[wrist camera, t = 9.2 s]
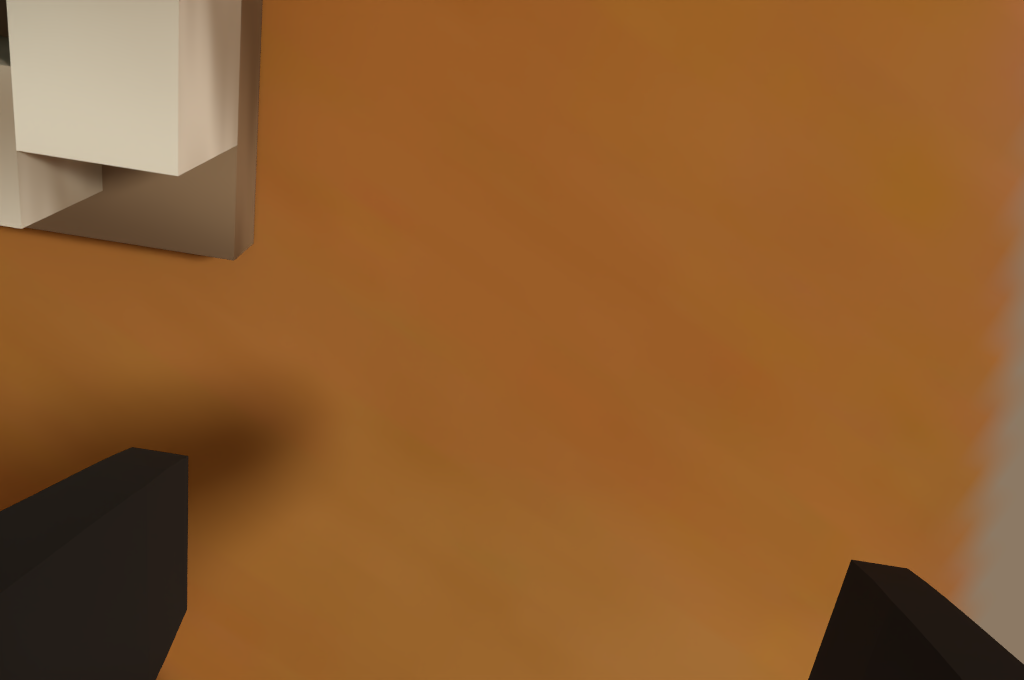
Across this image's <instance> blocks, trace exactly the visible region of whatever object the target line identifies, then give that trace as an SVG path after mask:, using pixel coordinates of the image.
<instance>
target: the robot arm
mask: <svg viewBox="0 0 1024 680" xmlns="http://www.w3.org/2000/svg"><path fill="white" fill-rule="evenodd" d="M187 549H188V456H185V455H178V454H172V453H166V452H159V451H153V450H147V449H140V448H134V447H132V448H129V449H127V450H125V451H122V452H120V453H117V454H115V455H113V456H111V457H109V458H106V459H104V460H102V461H100V462H98V463H96V464H94V465H92V466H90V467H88V468H86V469H84V470H82V471H80V472H78V473H76V474H74V475H72V476H70V477H68V478H66V479H64V480H62V481H60V482H58V483H56V484H54V485H52V486H50V487H48V488H46V489H44V490H42V491H40V492H38V493H36V494H34V495H32V496H30V497H28V498H26V499H24V500H22V501H20V502H18V503H16V504H14V505H12V506H10V507H8V508H6V509H4V510H2V511H0V680H156V678H157V676H158V673H159V671H160V669H161V667H162V665H163V663H164V661H165V658H166V656H167V654H168V652H169V649H170V647H171V645H172V642H173V640H174V638H175V636H176V633H177V631H178V629H179V626H180V624H181V622H182V619H183V617H184V615H185V613H186V610H187ZM808 680H1024V664H1022V663H1021V662H1020V661H1019V660H1018V659H1017V658H1015V657H1014V656H1013V655H1012V654H1011V653H1010V652H1008V651H1007V650H1006V649H1005V648H1004V647H1003V646H1002V645H1000V644H999V643H998V642H997V641H996V640H995V639H993V638H992V637H991V636H990V635H989V634H988V633H986V632H985V631H984V630H983V629H981V627H979V626H978V625H977V624H976V623H975V622H974V621H972V620H971V619H970V618H969V617H968V616H967V615H965V614H964V613H963V612H962V611H961V610H959V609H958V608H957V607H956V606H955V605H954V604H952V603H951V602H950V601H949V600H948V599H946V598H945V597H944V596H943V595H941V594H940V593H939V592H938V591H937V590H935V589H934V588H933V587H932V586H930V585H929V584H928V583H926V582H925V581H924V580H922V579H921V578H920V577H918V576H917V575H916V574H914V573H913V572H912V571H910V570H909V569H907V568H901V567H894V566H888V565H882V564H875V563H869V562H862V561H856V560H851V562H850V565H849V568H848V570H847V573H846V576H845V579H844V582H843V584H842V587H841V590H840V593H839V596H838V598H837V601H836V604H835V607H834V609H833V612H832V615H831V618H830V621H829V623H828V626H827V629H826V632H825V635H824V637H823V640H822V643H821V646H820V648H819V651H818V654H817V657H816V660H815V662H814V665H813V668H812V671H811V674H810V676H809V679H808Z"/></svg>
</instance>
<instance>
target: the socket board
mask: <svg viewBox="0 0 1024 680" xmlns="http://www.w3.org/2000/svg"><path fill="white" fill-rule="evenodd" d="M261 25H262V0H0V225H1V226H7V227H13V228H20V229H22V228H24V227H26V228H32V229H39V230H45V231H51V232H57V233H64V234H70V235H76V236H83V237H89V238H95V239H102V240H108V241H114V242H121V243H127V244H133V245H140V246H146V247H152V248H159V249H165V250H171V251H178V252H184V253H190V254H196V255H203V256H209V257H215V258H222V259H228V260H235V259H236V258H237V257H238V256H240V255H241V254H242V253H243V252H244V251H245V250H246V249H248V248H249V247H250V246H251V245H252V244H253V239H254V212H255V185H256V159H257V132H258V105H259V79H260V52H261Z"/></svg>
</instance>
